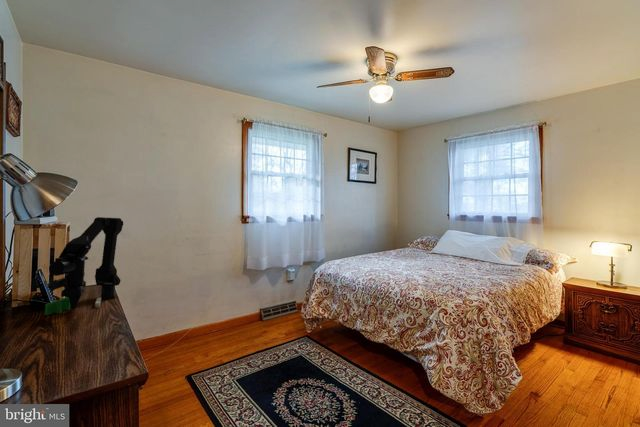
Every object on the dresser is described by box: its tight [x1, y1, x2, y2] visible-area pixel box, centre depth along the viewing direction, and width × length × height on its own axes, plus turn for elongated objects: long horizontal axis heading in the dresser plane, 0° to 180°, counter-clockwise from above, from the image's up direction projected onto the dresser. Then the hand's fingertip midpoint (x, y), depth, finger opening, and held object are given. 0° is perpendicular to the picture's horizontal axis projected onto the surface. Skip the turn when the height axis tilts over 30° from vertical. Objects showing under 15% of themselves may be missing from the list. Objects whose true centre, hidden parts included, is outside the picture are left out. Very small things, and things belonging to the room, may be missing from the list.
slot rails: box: [54, 296, 102, 309], centre depth 134 cm, size 12×18×2 cm
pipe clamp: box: [44, 297, 71, 316], centre depth 127 cm, size 11×4×5 cm, turn 4°
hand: (73, 308), depth 127 cm, fingers closed
